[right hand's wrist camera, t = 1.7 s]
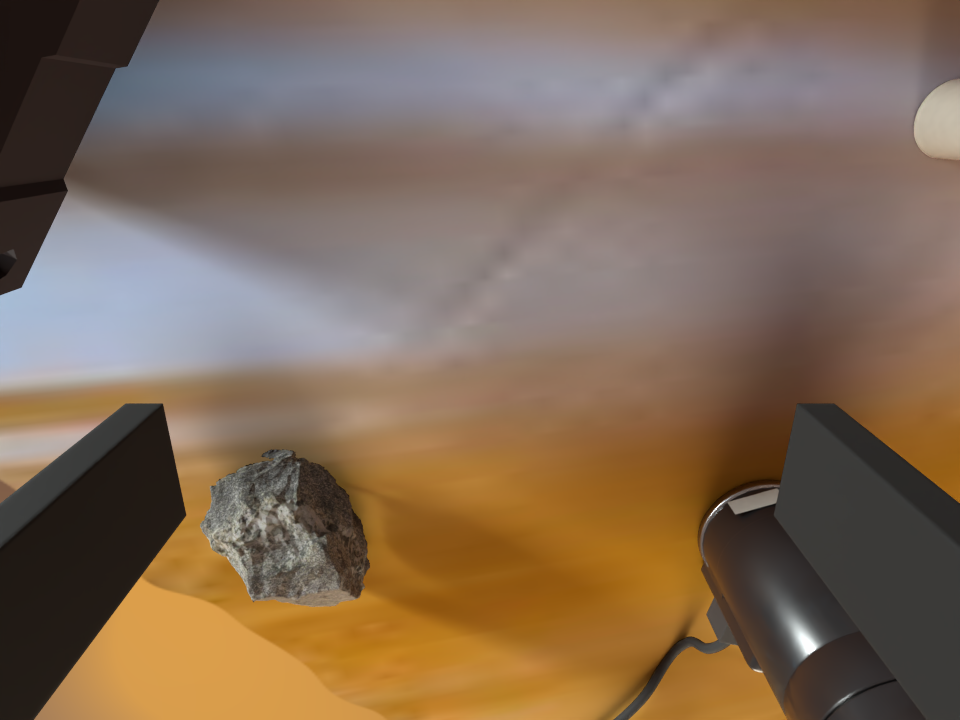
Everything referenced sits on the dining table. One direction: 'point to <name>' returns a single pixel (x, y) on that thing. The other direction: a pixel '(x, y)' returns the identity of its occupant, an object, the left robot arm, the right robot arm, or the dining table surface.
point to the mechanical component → (51, 106)
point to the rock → (288, 532)
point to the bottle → (940, 122)
